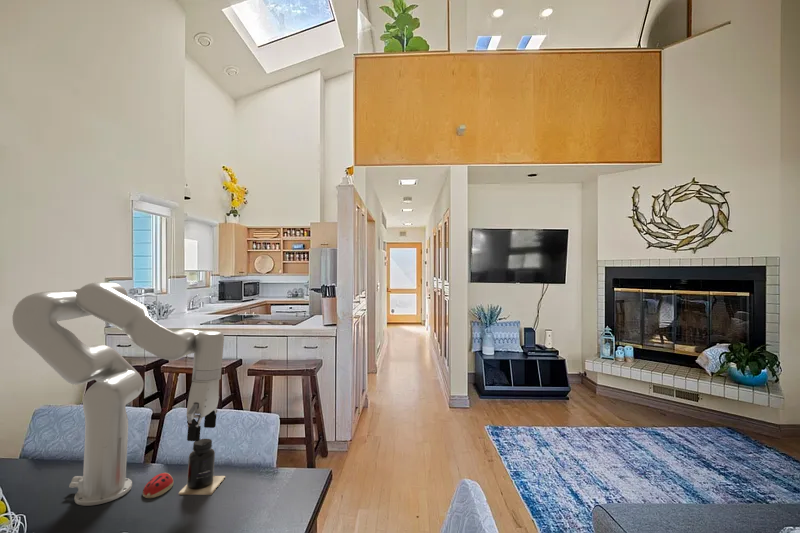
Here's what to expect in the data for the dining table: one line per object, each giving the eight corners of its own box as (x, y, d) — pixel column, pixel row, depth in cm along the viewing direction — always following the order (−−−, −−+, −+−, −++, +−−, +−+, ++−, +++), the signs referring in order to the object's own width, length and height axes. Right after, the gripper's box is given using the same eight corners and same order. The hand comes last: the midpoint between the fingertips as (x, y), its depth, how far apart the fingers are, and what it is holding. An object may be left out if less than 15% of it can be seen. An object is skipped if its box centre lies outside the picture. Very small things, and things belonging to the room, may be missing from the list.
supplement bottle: (202, 491, 106) (204, 447, 107) (181, 488, 108) (183, 445, 108) (218, 479, 113) (220, 438, 114) (198, 476, 114) (200, 435, 115)
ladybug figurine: (178, 481, 113) (179, 468, 113) (162, 500, 104) (163, 486, 104) (154, 482, 112) (154, 469, 113) (135, 501, 103) (136, 488, 103)
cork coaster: (178, 494, 106) (178, 492, 106) (194, 477, 115) (195, 475, 115) (211, 494, 106) (211, 492, 106) (225, 477, 115) (225, 475, 115)
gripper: (207, 367, 120) (203, 422, 119) (177, 381, 103) (171, 445, 102) (231, 368, 120) (227, 423, 120) (205, 382, 103) (200, 447, 102)
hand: (201, 433), depth 111 cm, fingers open, 9 cm apart
